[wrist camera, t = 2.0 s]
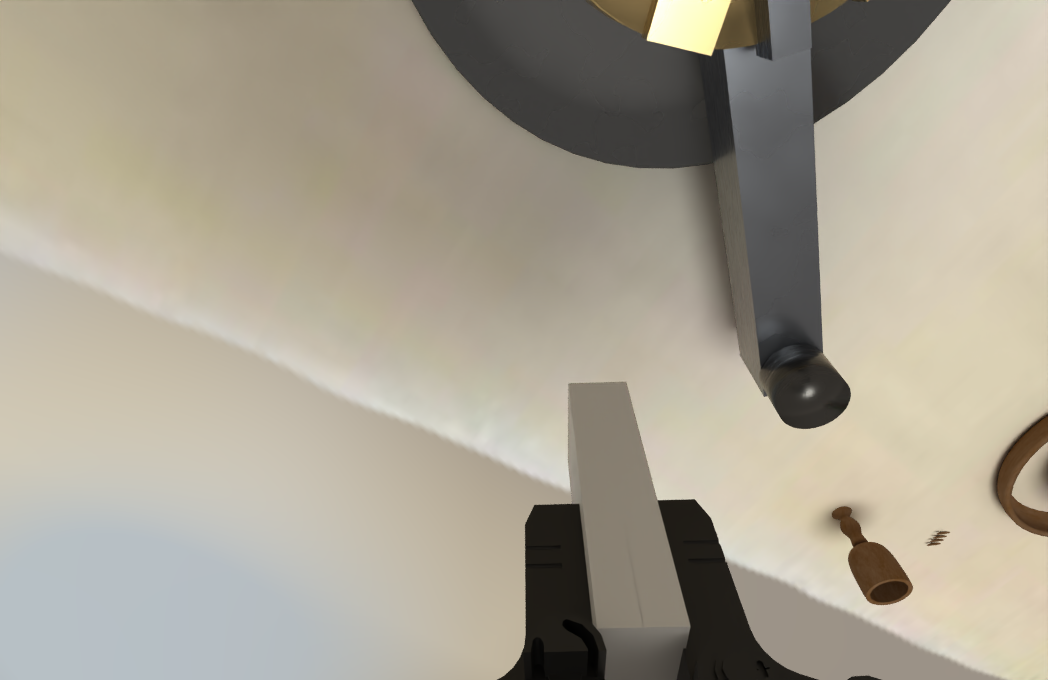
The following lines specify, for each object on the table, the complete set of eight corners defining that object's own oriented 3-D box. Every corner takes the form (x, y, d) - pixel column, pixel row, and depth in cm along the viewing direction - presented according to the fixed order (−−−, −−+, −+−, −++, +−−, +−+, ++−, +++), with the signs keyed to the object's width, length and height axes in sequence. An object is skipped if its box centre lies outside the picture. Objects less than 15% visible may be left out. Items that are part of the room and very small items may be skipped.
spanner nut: (455, -374, 14) (424, -536, 10) (928, -617, 12) (1159, -954, 8) (648, 381, 27) (673, 459, 22) (891, 319, 25) (970, 392, 21)
